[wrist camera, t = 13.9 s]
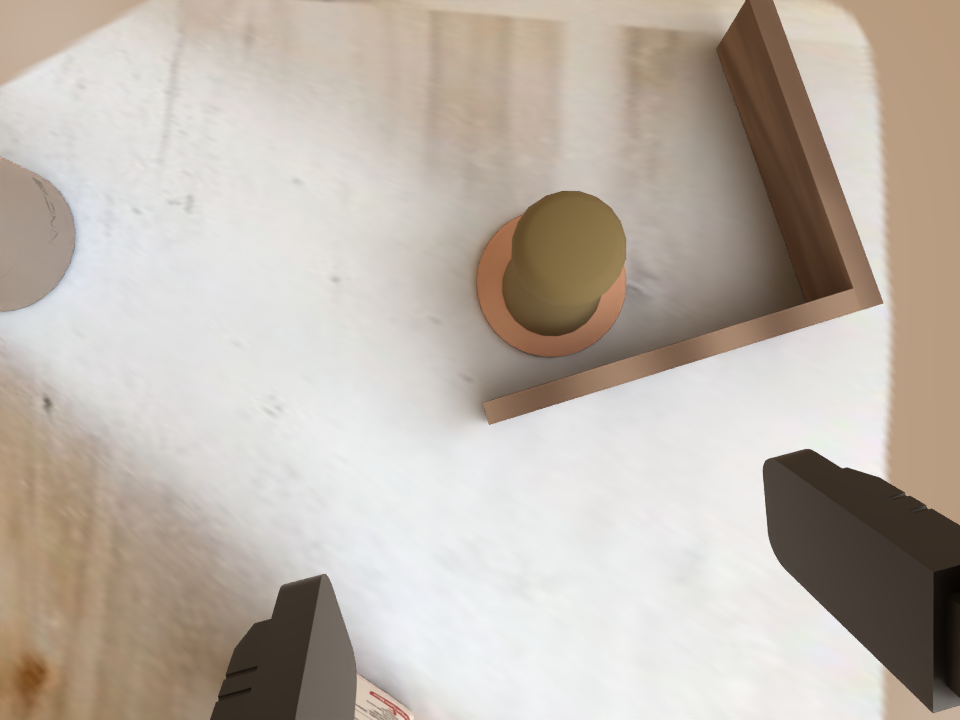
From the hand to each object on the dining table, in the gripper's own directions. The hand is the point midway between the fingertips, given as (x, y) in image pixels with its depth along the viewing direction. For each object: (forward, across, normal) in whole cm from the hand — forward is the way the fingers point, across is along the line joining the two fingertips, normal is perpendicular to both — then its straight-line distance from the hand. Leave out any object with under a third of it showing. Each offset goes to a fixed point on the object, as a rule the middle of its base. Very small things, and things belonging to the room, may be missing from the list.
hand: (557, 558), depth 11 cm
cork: (+27, -7, +1) cm, 28 cm away
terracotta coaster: (+28, -7, +1) cm, 28 cm away
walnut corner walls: (+28, -11, -2) cm, 30 cm away
